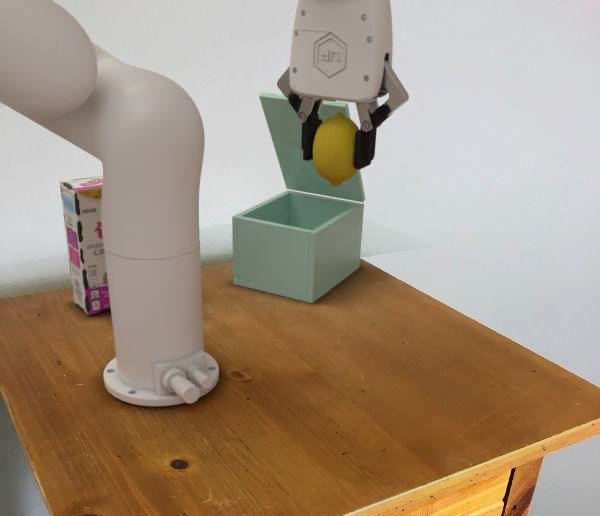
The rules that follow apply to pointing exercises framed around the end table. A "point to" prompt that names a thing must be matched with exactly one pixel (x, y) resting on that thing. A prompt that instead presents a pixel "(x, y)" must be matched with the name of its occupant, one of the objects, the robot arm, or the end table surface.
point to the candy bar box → (86, 243)
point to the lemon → (335, 149)
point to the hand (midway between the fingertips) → (337, 160)
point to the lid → (291, 154)
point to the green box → (297, 244)
